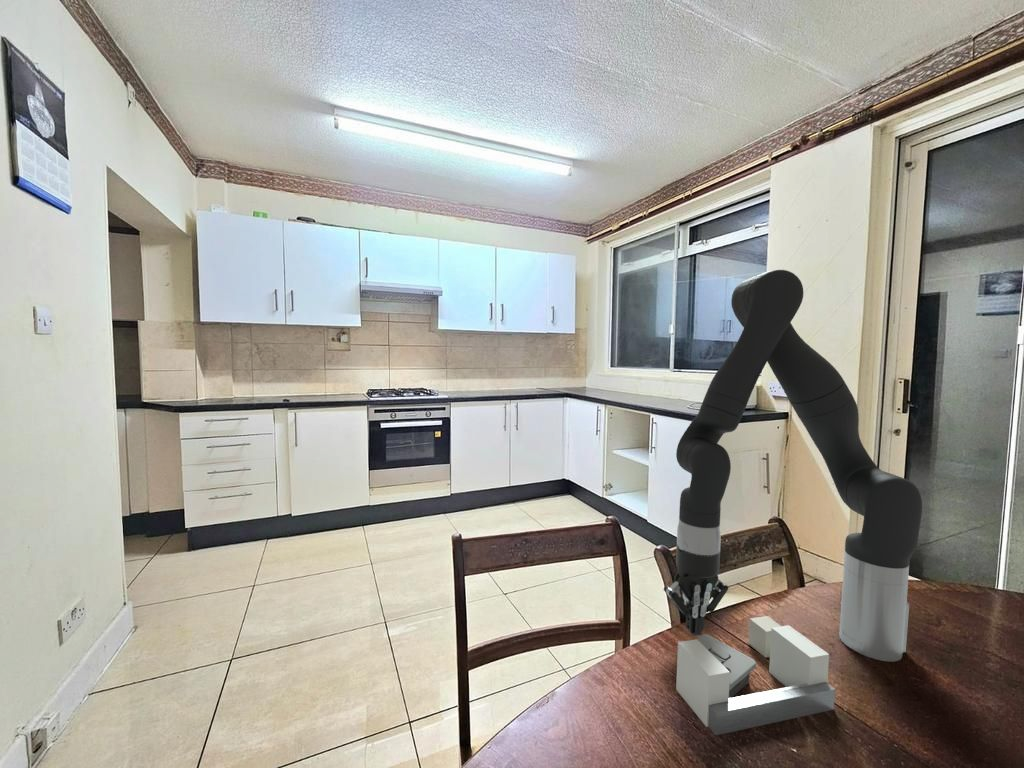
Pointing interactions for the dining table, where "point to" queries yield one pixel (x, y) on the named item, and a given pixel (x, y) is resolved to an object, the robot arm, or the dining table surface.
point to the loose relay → (761, 634)
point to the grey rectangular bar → (770, 707)
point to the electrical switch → (730, 662)
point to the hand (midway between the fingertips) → (694, 632)
